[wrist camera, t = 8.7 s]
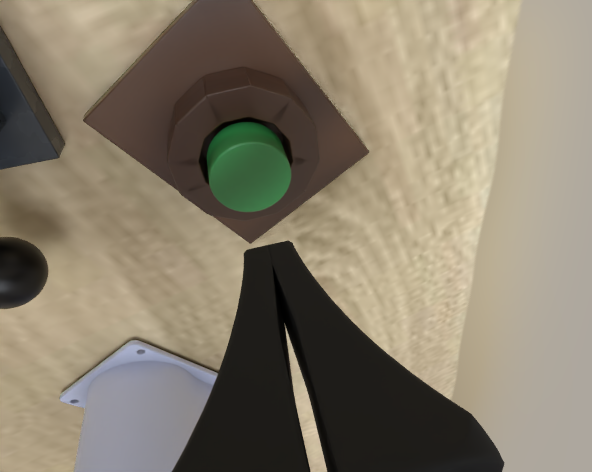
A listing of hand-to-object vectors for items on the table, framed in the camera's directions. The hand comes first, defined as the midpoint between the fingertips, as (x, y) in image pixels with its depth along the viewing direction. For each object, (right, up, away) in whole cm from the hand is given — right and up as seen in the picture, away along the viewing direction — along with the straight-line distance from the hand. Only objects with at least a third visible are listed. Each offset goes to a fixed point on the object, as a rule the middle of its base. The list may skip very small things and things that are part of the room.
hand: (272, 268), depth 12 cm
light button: (-1, +4, +5) cm, 7 cm away
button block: (-2, +6, +7) cm, 9 cm away
